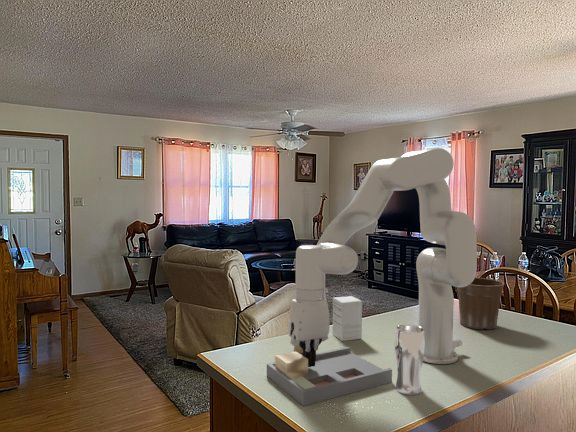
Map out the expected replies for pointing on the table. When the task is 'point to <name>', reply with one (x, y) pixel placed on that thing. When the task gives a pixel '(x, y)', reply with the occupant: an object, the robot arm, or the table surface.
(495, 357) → the table surface
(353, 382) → the box
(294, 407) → the table surface
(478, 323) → the plant pot
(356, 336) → the supplement box
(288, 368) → the maple block
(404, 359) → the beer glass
